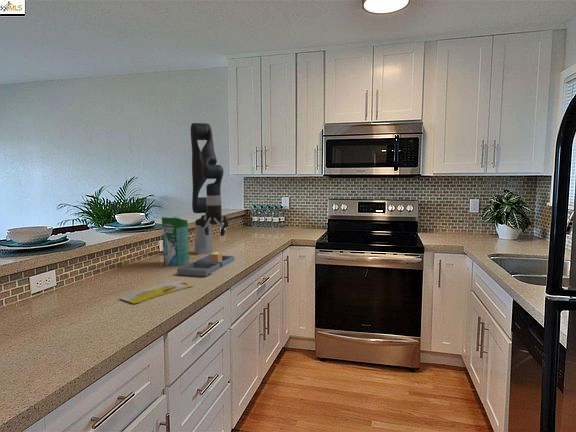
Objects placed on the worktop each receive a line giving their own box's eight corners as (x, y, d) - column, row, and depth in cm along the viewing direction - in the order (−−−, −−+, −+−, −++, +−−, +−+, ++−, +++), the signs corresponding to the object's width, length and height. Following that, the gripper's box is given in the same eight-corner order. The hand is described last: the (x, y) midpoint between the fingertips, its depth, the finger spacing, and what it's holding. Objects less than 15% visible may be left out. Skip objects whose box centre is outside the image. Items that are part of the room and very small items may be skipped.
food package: (133, 300, 132) (118, 295, 138) (133, 306, 132) (118, 301, 138) (194, 282, 154) (179, 278, 160) (194, 287, 154) (179, 283, 160)
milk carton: (189, 263, 196) (187, 216, 193) (177, 266, 187) (175, 217, 185) (175, 261, 199) (173, 215, 197) (163, 265, 191) (161, 217, 189)
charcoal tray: (177, 275, 171) (177, 268, 171) (193, 267, 185) (193, 261, 185) (205, 277, 167) (205, 270, 167) (220, 269, 181) (220, 263, 181)
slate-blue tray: (196, 266, 188) (195, 260, 187) (209, 260, 202) (209, 254, 201) (222, 268, 184) (222, 262, 183) (234, 261, 198) (234, 256, 197)
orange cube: (209, 263, 191) (208, 253, 190) (213, 261, 196) (213, 252, 195) (217, 264, 190) (217, 254, 189) (222, 262, 194) (222, 252, 194)
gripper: (197, 204, 188) (198, 236, 189) (223, 205, 184) (224, 237, 186) (204, 203, 195) (205, 233, 197) (229, 203, 191) (230, 234, 193)
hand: (214, 235), depth 191 cm, fingers open, 8 cm apart
